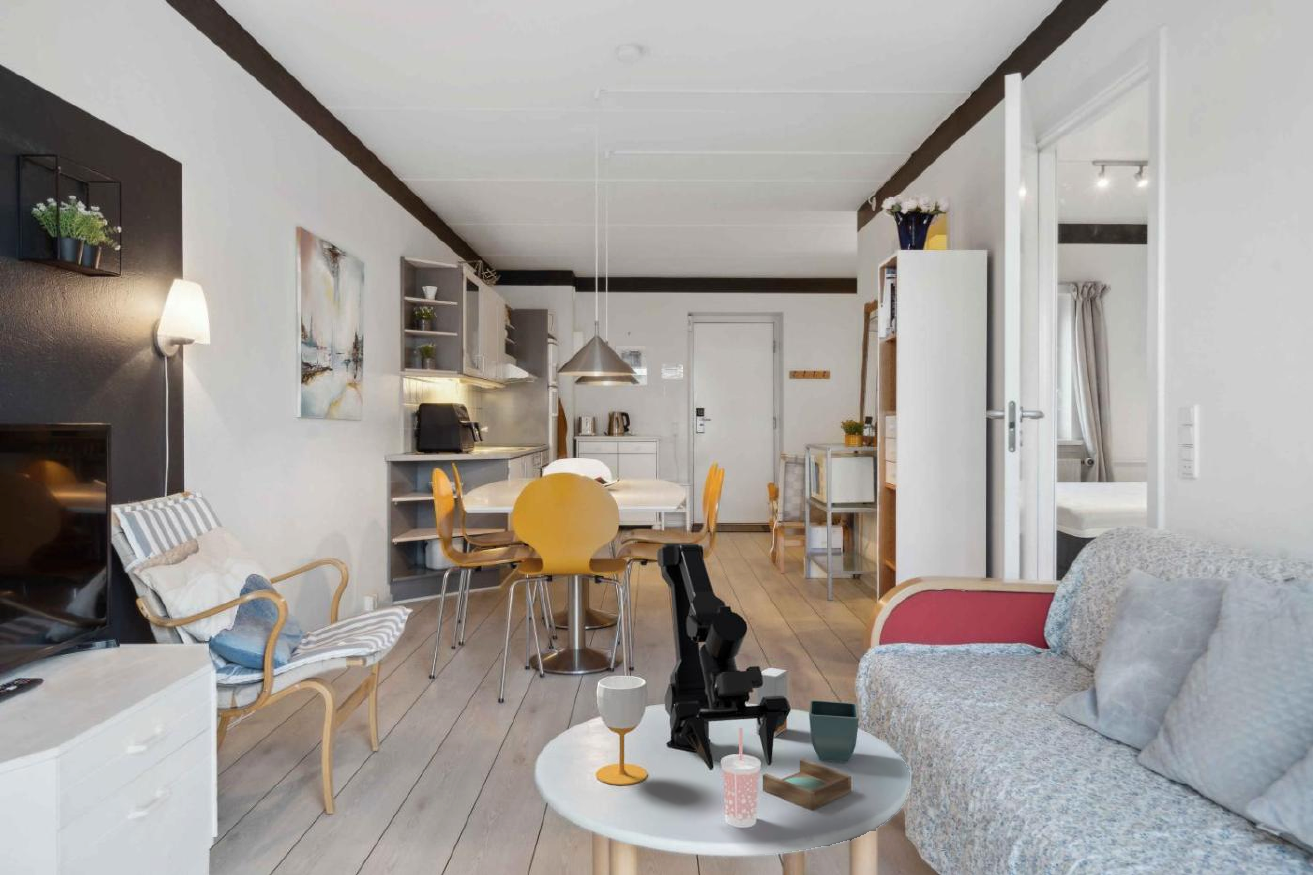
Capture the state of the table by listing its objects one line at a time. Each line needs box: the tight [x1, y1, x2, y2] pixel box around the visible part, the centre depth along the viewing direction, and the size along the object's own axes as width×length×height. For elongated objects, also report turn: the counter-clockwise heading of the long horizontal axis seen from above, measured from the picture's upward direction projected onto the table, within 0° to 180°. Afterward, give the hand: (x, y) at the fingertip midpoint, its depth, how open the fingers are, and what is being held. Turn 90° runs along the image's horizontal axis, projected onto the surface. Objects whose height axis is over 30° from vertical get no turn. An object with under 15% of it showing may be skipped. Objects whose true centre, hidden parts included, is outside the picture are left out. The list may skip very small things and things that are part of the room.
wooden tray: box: [762, 758, 852, 811], centre depth 135 cm, size 10×11×3 cm
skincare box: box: [755, 667, 788, 738], centre depth 163 cm, size 6×4×12 cm
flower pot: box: [808, 699, 860, 763], centre depth 150 cm, size 9×9×9 cm
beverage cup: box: [720, 727, 762, 829], centre depth 124 cm, size 6×6×14 cm
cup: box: [595, 675, 649, 786], centre depth 141 cm, size 9×9×16 cm
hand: (741, 766), depth 124 cm, fingers open, 9 cm apart
